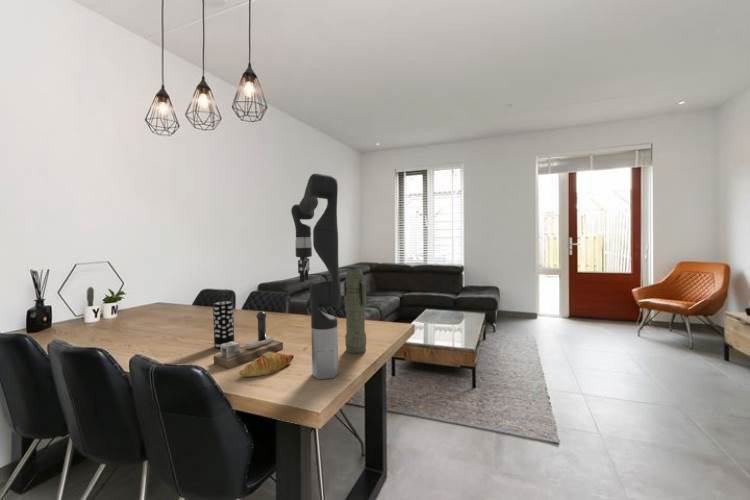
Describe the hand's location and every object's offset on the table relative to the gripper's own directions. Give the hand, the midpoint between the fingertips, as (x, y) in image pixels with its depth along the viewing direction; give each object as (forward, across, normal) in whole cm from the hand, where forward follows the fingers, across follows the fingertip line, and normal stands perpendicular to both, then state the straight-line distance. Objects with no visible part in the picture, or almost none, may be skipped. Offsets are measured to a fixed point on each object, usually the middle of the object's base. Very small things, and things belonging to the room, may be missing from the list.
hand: (304, 280), depth 158 cm
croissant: (+29, -35, +7) cm, 46 cm away
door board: (+29, -20, +19) cm, 40 cm away
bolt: (+25, -16, +16) cm, 34 cm away
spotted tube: (+29, -7, +36) cm, 46 cm away
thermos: (+29, -16, -25) cm, 41 cm away
